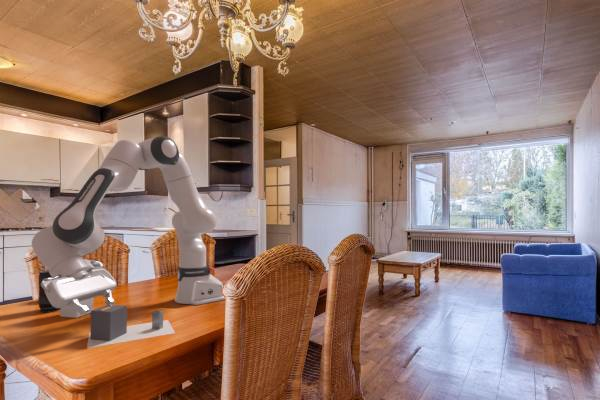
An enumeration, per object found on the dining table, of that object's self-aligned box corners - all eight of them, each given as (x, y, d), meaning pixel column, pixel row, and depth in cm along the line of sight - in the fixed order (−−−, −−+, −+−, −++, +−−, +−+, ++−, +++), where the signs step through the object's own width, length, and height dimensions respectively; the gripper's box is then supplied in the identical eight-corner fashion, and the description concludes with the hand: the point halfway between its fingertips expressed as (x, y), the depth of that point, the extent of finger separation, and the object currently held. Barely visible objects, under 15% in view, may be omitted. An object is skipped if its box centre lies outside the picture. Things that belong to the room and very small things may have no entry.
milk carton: (76, 318, 116) (78, 264, 117) (59, 317, 117) (61, 263, 118) (93, 312, 123) (94, 261, 124) (77, 311, 124) (78, 260, 125)
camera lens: (47, 307, 130) (48, 269, 130) (68, 306, 130) (69, 268, 131) (32, 313, 122) (33, 272, 122) (55, 313, 122) (56, 272, 123)
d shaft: (157, 326, 103) (157, 310, 104) (164, 326, 103) (165, 310, 103) (152, 328, 101) (152, 312, 101) (159, 329, 100) (159, 312, 101)
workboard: (167, 324, 109) (167, 319, 110) (175, 338, 97) (175, 332, 97) (89, 336, 98) (89, 331, 98) (86, 354, 86) (86, 348, 86)
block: (107, 331, 99) (108, 303, 99) (126, 333, 97) (127, 304, 98) (90, 339, 92) (91, 309, 93) (109, 341, 91) (110, 310, 92)
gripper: (44, 271, 88) (74, 311, 85) (105, 261, 108) (130, 292, 105) (30, 287, 89) (59, 327, 86) (93, 274, 109) (118, 306, 106)
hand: (99, 308), depth 96 cm, fingers open, 8 cm apart
